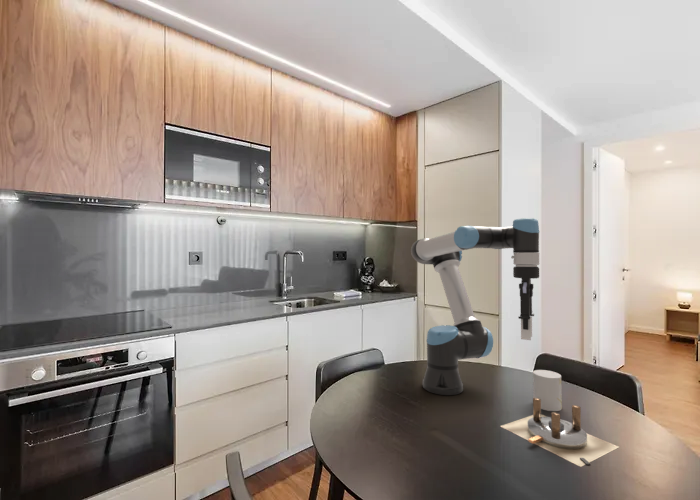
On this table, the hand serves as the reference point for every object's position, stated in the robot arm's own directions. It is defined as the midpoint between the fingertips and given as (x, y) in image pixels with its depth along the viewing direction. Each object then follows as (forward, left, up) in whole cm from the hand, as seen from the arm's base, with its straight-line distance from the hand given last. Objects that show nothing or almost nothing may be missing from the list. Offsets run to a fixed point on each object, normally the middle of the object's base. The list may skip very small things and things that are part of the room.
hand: (526, 337), depth 111 cm
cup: (+1, +9, -25) cm, 27 cm away
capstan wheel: (+14, -10, -23) cm, 29 cm away
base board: (+14, -8, -25) cm, 30 cm away
